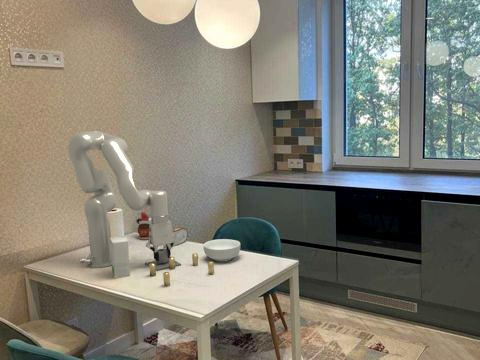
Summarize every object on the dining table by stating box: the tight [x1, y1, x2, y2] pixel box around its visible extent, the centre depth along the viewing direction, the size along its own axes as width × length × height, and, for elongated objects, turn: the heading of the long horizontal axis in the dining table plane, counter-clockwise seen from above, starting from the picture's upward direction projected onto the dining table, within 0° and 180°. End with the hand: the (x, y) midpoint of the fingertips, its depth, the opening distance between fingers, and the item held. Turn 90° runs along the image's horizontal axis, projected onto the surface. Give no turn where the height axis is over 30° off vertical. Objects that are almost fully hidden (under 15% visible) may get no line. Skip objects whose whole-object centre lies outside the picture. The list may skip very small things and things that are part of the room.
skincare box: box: [110, 235, 131, 279], centre depth 196 cm, size 8×7×16 cm
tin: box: [171, 226, 189, 248], centre depth 238 cm, size 15×3×8 cm, turn 144°
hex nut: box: [157, 247, 169, 263], centre depth 207 cm, size 4×5×5 cm
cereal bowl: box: [203, 238, 241, 262], centre depth 212 cm, size 17×17×7 cm
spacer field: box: [148, 252, 215, 287], centre depth 195 cm, size 22×19×5 cm
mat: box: [144, 258, 182, 272], centre depth 208 cm, size 12×12×1 cm
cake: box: [135, 207, 151, 240], centre depth 252 cm, size 11×9×18 cm
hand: (162, 258), depth 207 cm, fingers open, 4 cm apart
